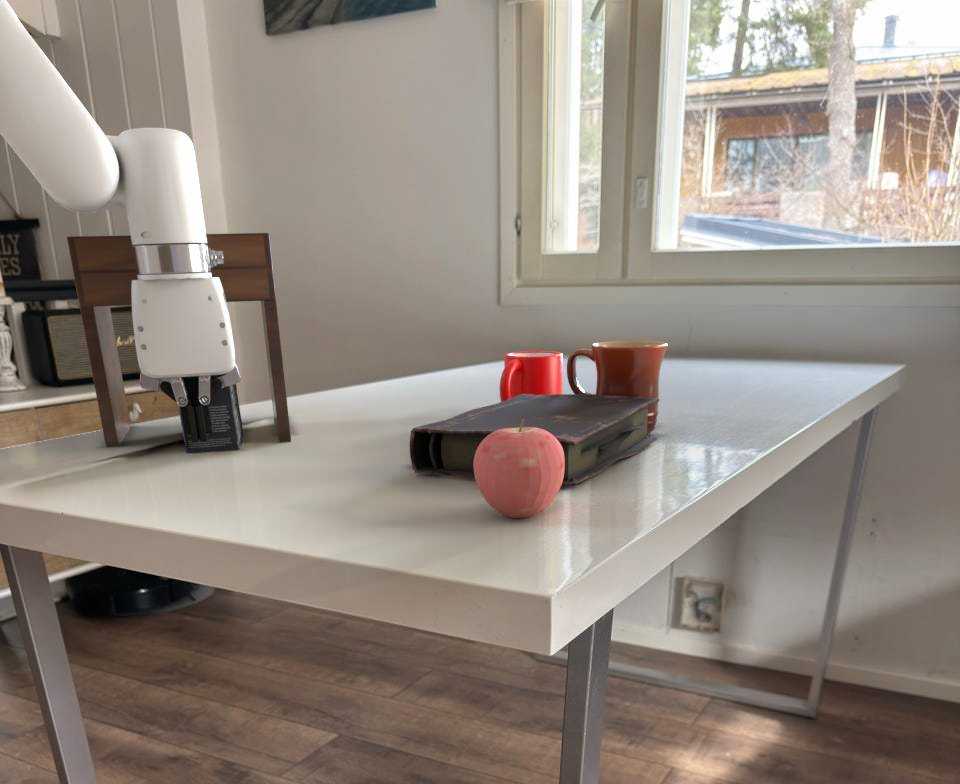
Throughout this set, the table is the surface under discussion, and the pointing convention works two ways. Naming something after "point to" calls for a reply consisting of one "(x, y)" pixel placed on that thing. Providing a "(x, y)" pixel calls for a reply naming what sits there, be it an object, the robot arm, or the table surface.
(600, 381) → the mug
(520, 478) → the apple
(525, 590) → the table surface
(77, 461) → the table surface
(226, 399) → the small box
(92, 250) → the brown wooden stand
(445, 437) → the diary
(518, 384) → the mug
